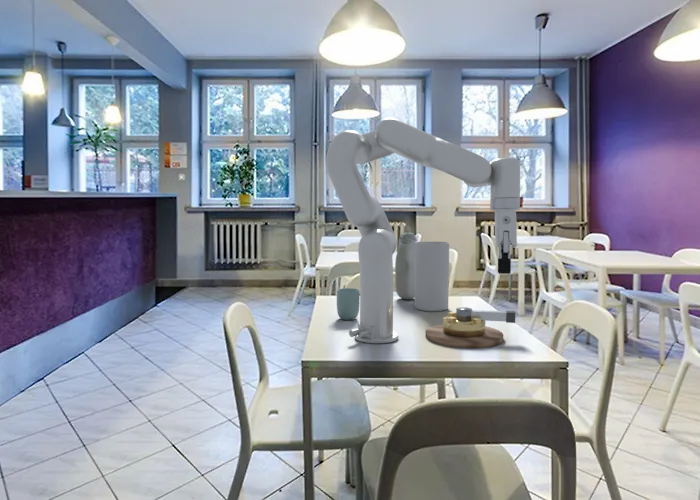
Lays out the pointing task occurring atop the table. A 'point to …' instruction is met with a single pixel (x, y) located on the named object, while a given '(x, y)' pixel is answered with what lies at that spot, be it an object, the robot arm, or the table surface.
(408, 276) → the glass bottle
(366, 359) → the table surface
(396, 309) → the table surface
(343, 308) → the cup
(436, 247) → the cylinder vase
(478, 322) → the grey lever
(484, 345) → the lever base
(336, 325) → the table surface
